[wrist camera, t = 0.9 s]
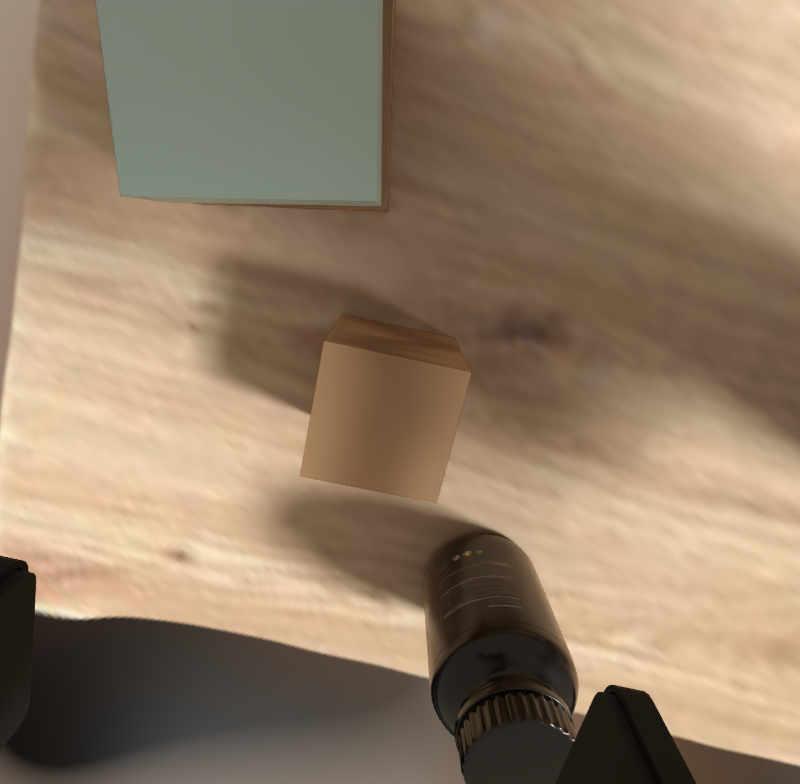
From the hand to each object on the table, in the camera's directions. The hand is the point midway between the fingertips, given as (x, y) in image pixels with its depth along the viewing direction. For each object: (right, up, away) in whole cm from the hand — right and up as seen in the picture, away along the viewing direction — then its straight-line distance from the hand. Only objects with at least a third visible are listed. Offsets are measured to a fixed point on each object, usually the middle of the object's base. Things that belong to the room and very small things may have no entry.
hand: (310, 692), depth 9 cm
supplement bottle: (+6, -6, +24) cm, 25 cm away
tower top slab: (-4, +17, +12) cm, 21 cm away
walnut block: (+1, +6, +20) cm, 21 cm away
